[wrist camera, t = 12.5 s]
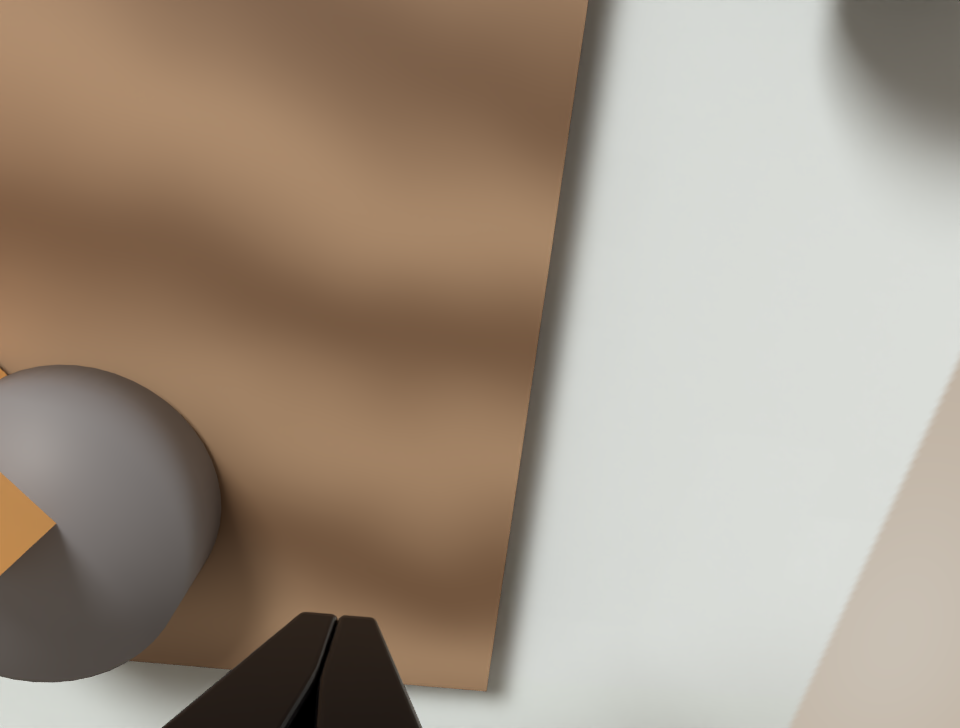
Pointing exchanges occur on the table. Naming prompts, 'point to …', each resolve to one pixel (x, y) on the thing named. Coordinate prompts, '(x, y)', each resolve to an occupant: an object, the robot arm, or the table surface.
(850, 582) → the table surface
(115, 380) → the orange and grey block
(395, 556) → the board
